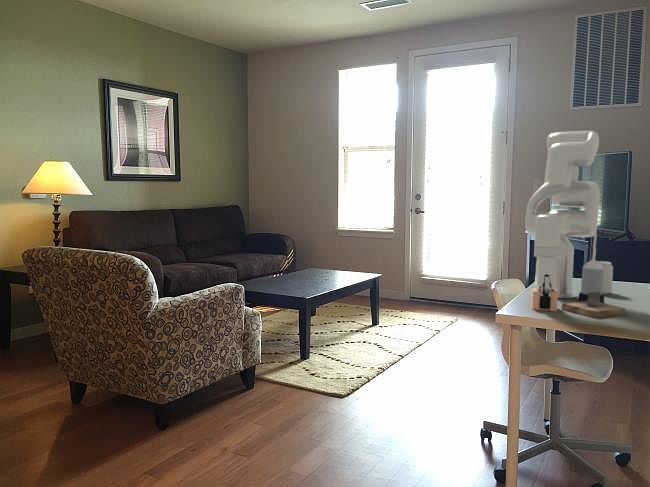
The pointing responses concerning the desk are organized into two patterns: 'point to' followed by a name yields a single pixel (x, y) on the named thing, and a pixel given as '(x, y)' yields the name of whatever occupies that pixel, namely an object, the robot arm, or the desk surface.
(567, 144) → the robot arm
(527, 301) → the desk surface
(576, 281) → the desk surface
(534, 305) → the light orange block
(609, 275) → the can
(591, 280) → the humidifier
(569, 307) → the stand
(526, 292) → the desk surface
